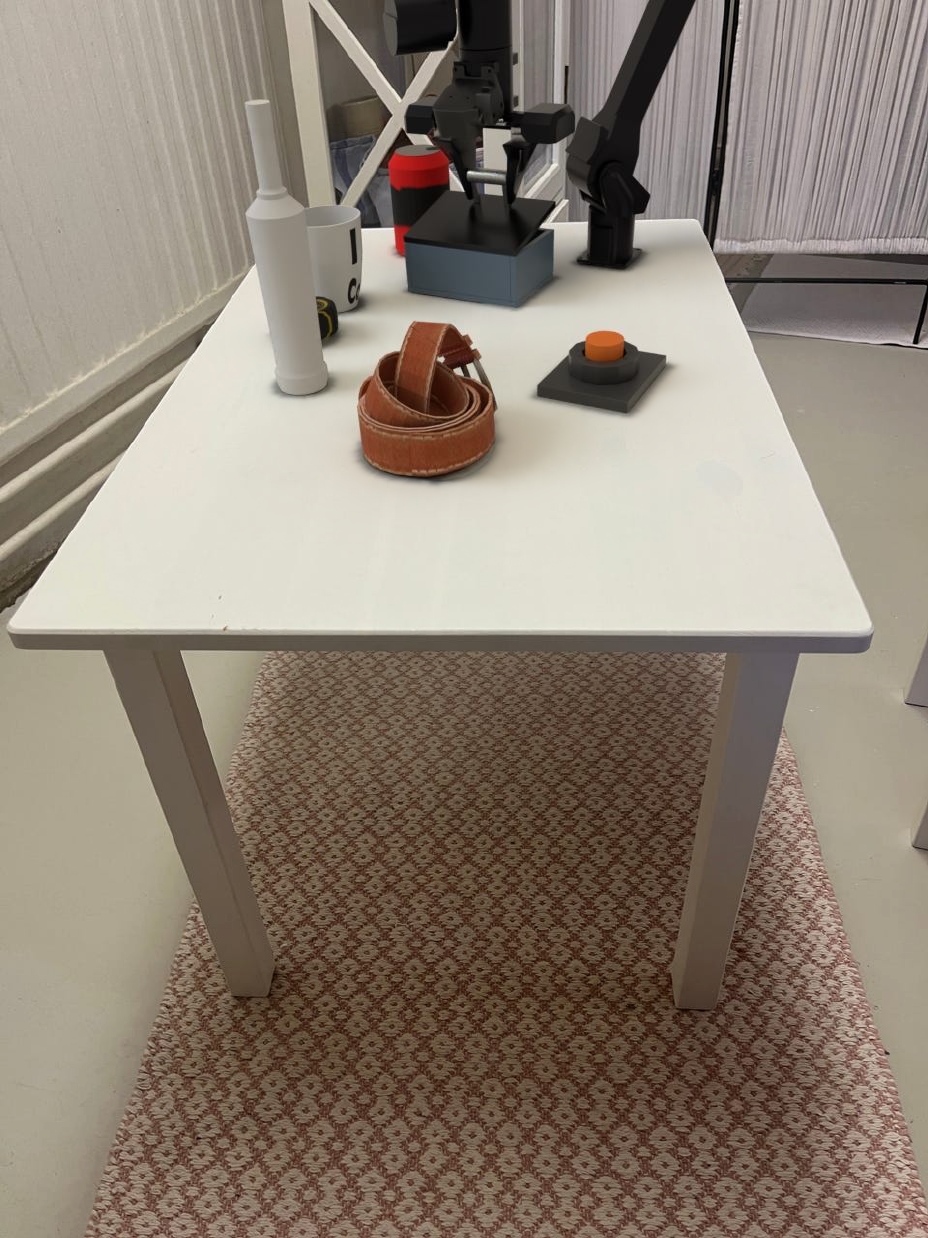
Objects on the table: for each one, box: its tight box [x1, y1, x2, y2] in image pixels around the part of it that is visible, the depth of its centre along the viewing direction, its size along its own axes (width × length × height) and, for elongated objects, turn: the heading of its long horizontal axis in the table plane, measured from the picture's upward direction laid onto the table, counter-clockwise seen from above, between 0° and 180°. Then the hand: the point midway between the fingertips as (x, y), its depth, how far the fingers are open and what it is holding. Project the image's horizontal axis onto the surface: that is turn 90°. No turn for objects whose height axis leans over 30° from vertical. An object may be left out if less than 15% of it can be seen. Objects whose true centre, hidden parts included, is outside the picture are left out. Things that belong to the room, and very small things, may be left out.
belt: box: [356, 320, 499, 478], centre depth 79 cm, size 14×13×10 cm
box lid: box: [403, 166, 557, 256], centre depth 105 cm, size 11×14×5 cm
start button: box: [585, 330, 625, 362], centre depth 88 cm, size 4×4×2 cm
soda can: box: [387, 144, 451, 257], centre depth 119 cm, size 8×8×12 cm
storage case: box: [404, 227, 555, 309], centre depth 110 cm, size 10×14×6 cm
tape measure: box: [316, 296, 340, 342], centre depth 100 cm, size 7×7×4 cm
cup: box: [304, 204, 363, 314], centre depth 105 cm, size 8×8×10 cm
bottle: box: [244, 99, 329, 396], centre depth 84 cm, size 5×5×25 cm
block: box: [536, 339, 667, 414], centre depth 89 cm, size 11×9×3 cm
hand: (490, 201), depth 108 cm, fingers closed on box lid, 5 cm apart
